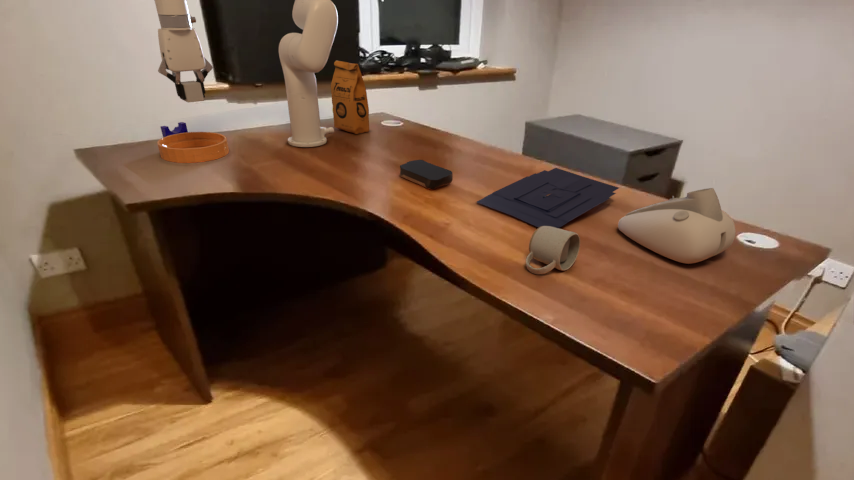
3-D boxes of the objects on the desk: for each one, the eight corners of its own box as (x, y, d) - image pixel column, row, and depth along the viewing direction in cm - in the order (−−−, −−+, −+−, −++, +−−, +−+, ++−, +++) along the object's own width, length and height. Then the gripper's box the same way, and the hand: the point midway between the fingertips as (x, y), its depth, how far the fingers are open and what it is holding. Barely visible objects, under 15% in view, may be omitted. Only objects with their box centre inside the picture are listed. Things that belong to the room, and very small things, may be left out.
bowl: (212, 143, 173) (209, 128, 170) (240, 157, 162) (237, 141, 159) (151, 153, 162) (147, 138, 159) (176, 169, 151) (172, 153, 148)
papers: (624, 199, 137) (626, 186, 135) (549, 243, 123) (551, 229, 120) (549, 175, 152) (550, 162, 150) (475, 211, 137) (474, 198, 135)
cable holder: (182, 133, 181) (179, 121, 179) (188, 135, 180) (185, 122, 177) (160, 138, 176) (157, 125, 173) (167, 140, 174) (164, 127, 172)
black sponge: (455, 186, 146) (456, 172, 144) (432, 192, 141) (432, 178, 139) (419, 170, 156) (419, 158, 154) (395, 176, 151) (395, 163, 149)
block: (197, 97, 152) (194, 80, 150) (204, 100, 150) (200, 83, 147) (181, 99, 150) (177, 82, 147) (188, 102, 147) (183, 84, 144)
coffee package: (352, 136, 185) (348, 65, 172) (330, 129, 191) (324, 61, 179) (374, 131, 191) (371, 63, 178) (351, 124, 198) (347, 58, 185)
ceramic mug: (544, 251, 114) (549, 217, 109) (577, 263, 110) (584, 228, 105) (514, 268, 108) (518, 232, 103) (549, 282, 103) (555, 245, 99)
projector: (708, 230, 126) (729, 168, 117) (742, 276, 107) (770, 206, 99) (613, 223, 128) (627, 162, 119) (630, 267, 109) (648, 198, 100)
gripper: (202, 20, 146) (216, 92, 156) (136, 22, 136) (156, 99, 147) (213, 22, 141) (227, 96, 152) (146, 25, 132) (166, 104, 142)
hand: (192, 97), depth 149 cm, fingers closed on block, 4 cm apart
